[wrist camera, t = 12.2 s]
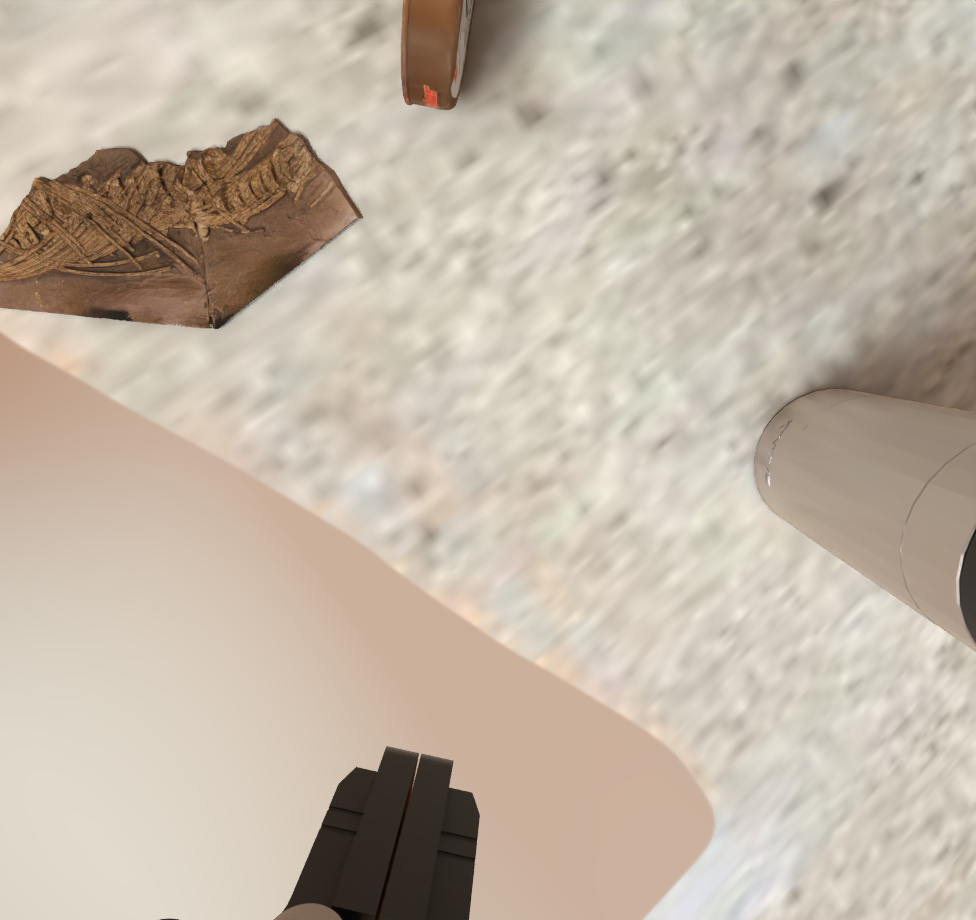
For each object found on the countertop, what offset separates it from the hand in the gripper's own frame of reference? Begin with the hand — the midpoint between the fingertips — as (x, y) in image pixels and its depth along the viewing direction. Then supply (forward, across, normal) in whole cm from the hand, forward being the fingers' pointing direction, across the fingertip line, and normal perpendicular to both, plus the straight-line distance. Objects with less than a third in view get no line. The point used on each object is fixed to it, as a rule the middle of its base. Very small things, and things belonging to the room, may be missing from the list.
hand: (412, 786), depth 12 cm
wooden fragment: (+26, +23, -10) cm, 36 cm away
